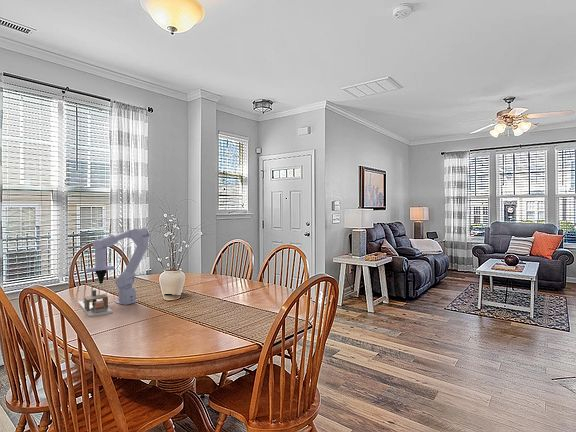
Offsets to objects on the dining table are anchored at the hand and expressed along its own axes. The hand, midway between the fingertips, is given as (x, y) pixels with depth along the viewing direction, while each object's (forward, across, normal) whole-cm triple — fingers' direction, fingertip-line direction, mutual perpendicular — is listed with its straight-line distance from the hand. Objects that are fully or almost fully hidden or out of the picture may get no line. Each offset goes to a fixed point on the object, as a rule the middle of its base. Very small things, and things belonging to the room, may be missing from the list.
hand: (100, 283), depth 210 cm
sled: (+9, +6, +19) cm, 22 cm away
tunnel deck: (+10, +6, +12) cm, 17 cm away
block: (+9, +6, +24) cm, 27 cm away
